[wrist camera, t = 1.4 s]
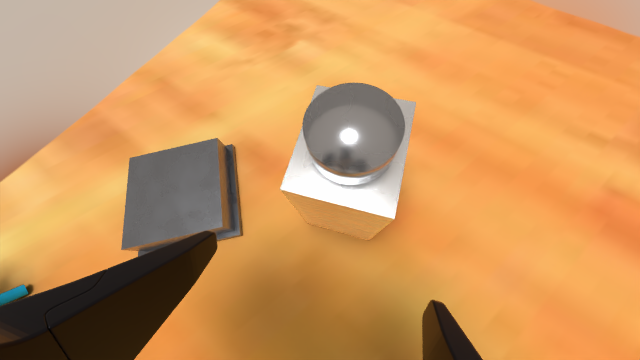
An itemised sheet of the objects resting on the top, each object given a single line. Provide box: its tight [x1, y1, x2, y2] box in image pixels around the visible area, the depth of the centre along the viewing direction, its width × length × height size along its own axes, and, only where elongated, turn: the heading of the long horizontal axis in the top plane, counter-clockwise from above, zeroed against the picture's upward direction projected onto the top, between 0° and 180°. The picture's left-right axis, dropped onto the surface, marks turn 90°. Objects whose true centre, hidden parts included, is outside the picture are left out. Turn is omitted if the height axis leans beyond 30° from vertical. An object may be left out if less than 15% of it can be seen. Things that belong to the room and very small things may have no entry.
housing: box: [280, 83, 416, 240], centre depth 17 cm, size 7×6×13 cm
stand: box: [121, 138, 242, 257], centre depth 23 cm, size 10×10×3 cm
